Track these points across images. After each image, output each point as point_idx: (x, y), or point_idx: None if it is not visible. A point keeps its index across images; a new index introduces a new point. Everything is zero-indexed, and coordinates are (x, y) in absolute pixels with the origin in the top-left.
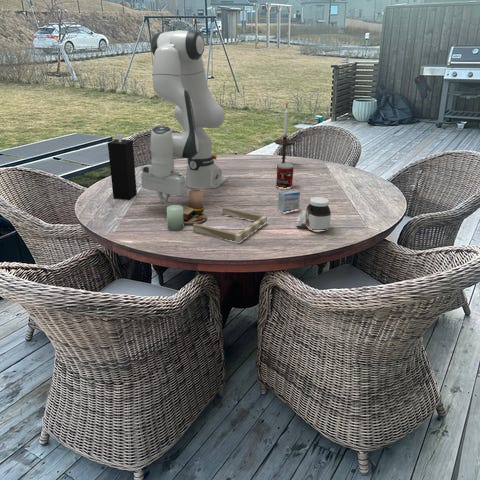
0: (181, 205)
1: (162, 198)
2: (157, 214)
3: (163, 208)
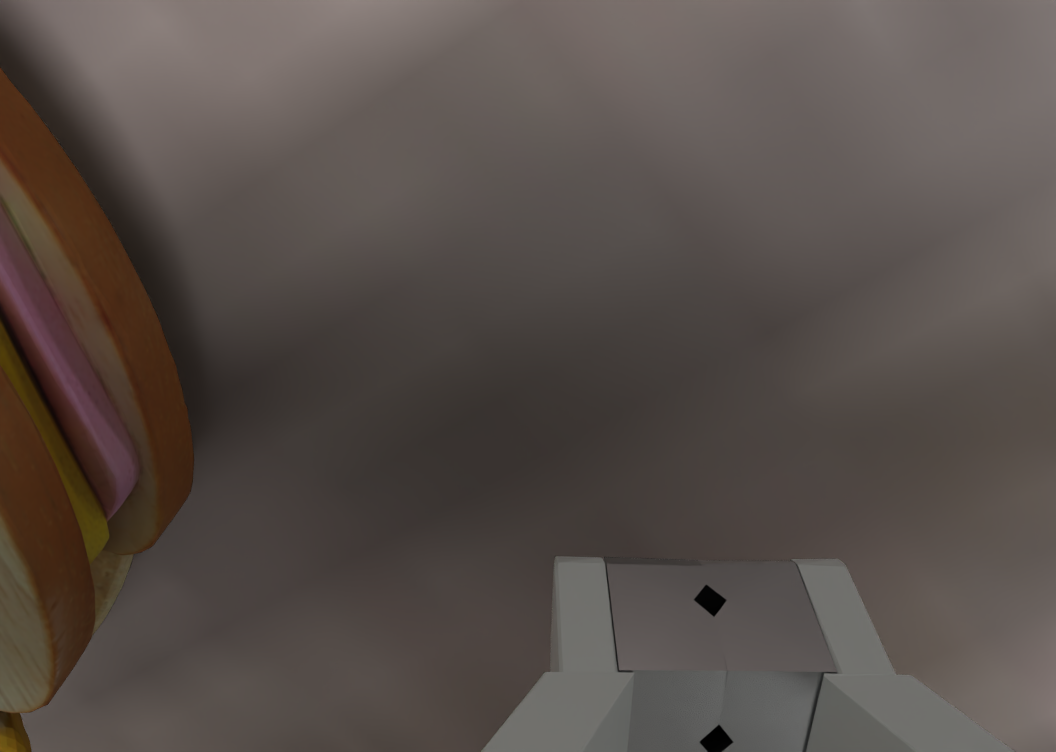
0: (11, 693)
1: (780, 714)
2: (739, 179)
3: None
